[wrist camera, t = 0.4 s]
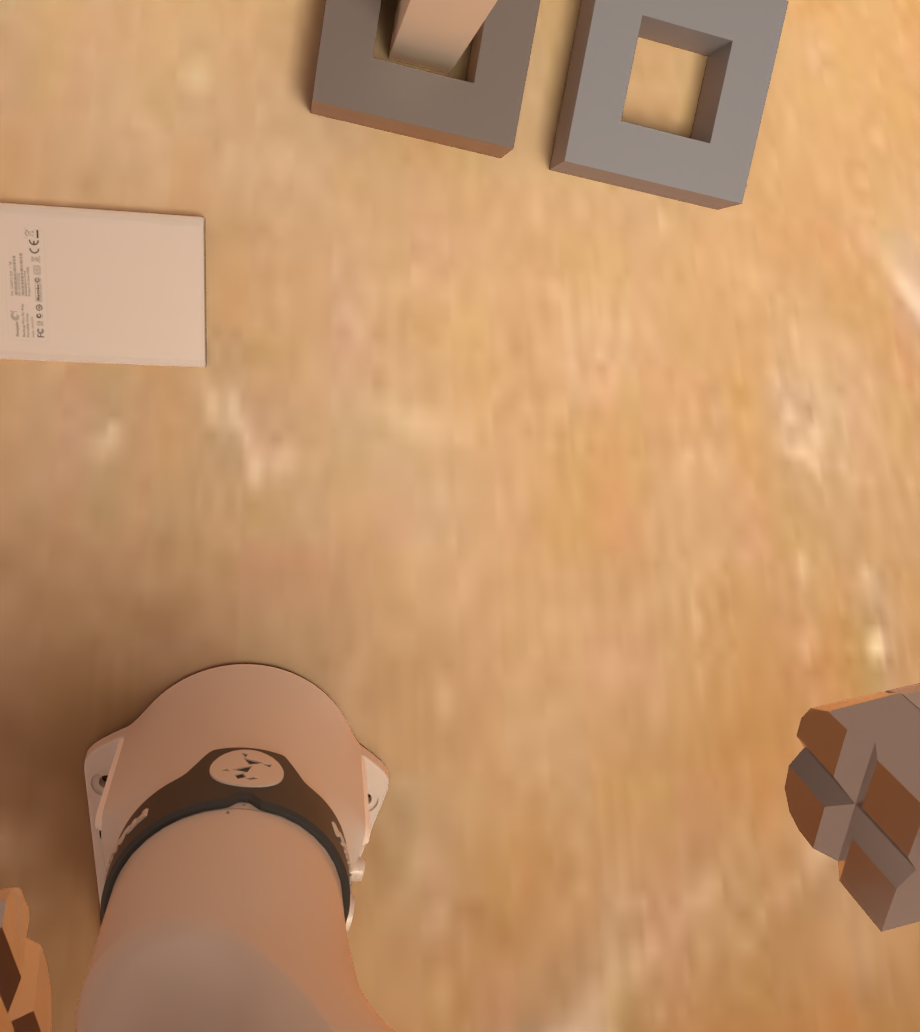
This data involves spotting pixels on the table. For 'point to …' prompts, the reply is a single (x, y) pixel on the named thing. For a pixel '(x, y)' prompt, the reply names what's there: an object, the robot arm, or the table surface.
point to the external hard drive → (102, 286)
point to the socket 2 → (721, 108)
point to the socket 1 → (427, 80)
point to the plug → (436, 31)
